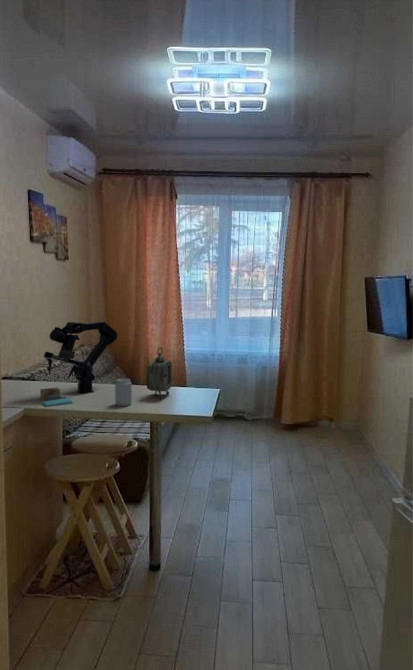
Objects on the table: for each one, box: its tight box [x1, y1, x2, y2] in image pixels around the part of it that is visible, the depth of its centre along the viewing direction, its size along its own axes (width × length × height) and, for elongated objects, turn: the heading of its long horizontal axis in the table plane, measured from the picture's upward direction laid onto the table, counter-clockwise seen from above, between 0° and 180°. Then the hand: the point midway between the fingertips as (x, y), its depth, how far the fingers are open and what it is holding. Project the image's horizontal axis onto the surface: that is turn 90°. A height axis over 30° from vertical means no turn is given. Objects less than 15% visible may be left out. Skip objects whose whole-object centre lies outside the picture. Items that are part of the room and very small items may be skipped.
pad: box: [41, 397, 73, 408], centre depth 224 cm, size 12×7×1 cm, turn 125°
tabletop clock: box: [145, 346, 173, 400], centre depth 238 cm, size 14×9×25 cm, turn 167°
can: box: [114, 378, 133, 407], centre depth 222 cm, size 8×8×12 cm
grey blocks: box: [46, 394, 61, 401], centre depth 232 cm, size 6×11×2 cm, turn 35°
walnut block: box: [40, 386, 61, 402], centre depth 232 cm, size 8×5×5 cm, turn 126°
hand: (58, 376), depth 234 cm, fingers open, 9 cm apart
